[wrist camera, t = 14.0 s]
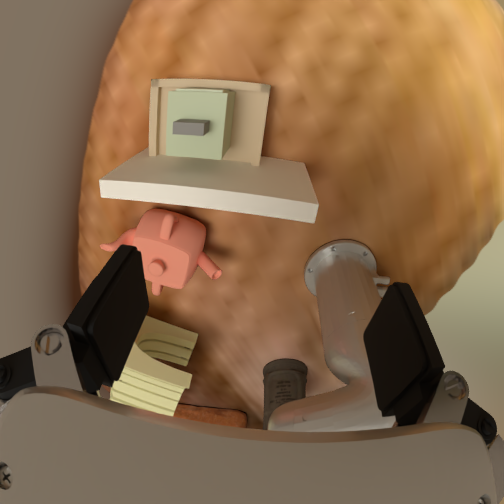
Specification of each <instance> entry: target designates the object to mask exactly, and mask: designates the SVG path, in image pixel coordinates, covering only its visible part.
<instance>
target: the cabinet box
mask: <svg viewBox="0 0 504 504" xmlns="http://www.w3.org/2000/svg"><path fill="white" fill-rule="evenodd" d="M234 101H235V92H232V91H230V89H216V88H190V87H189V88H178V89H176V90H174V91H168V105H167V127H166V156H179V157H192V158H204V159H215V160H222V158H223V157H224V155H225V154H226V152H227V151H228V149H229V148H230V139H231V129H232V120H233V110H234Z"/></svg>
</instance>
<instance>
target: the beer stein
mask: <svg viewBox="0 0 504 504" xmlns="http://www.w3.org/2000/svg"><path fill="white" fill-rule="evenodd" d="M263 375H264V380H263V383H264V424H263V430H268V422H269V418H270V416H271V414H272V413H273V411H274V410H275V409H276V408H278V407H279V406H281V405H283V404H285V403H288V402H291V401H295V400H299V399H303V398H305V386H306V382H307V379H306V375H307V367H306V366H305V364H303V363H302V362H300V361H298V360H293V359H280V360H275V361H272V362H270V363H268V364H267V365H266V366H265V367H264V369H263Z"/></svg>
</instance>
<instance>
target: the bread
mask: <svg viewBox="0 0 504 504" xmlns="http://www.w3.org/2000/svg"><path fill="white" fill-rule="evenodd" d="M173 417H177V418H182V419H187V420H192V421H198V422H204V423H210V424H216V425H223V426H231V427H239V428H246V426H247V416H246V414H245V413H243V412H241V411H239V410H232V409H218V408H209V407H196V406H192V405H187V404H179V403H178V404H177V406H176V409H175V412H174V415H173Z"/></svg>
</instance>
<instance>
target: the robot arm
mask: <svg viewBox="0 0 504 504" xmlns="http://www.w3.org/2000/svg"><path fill="white" fill-rule="evenodd" d="M376 268H377V266H376V260H375V258H374V256H373V254H372V252H371V251H370V250H369V249H368V248H367V247H366V246H365V245H363V244H362V243H359V242H357V241H352V240H338V241H333V242H330V243H327V244H325V245H324V246H322V247H320V248H319V249H317V250H316V251H315V252H314V253H313V254H312V255H311V256H310V258H309V259H308V261H307V263H306V266H305V270H304V278H305V283H306V286H307V288H308V290H309V291H310V292H311V293H312V294H313V295H315V296H316V297H317V303H318V310H319V317H320V324H321V332H322V340H323V348H324V356H325V361H326V364H327V366H328V368H329V369H330V371H331V372H332V373H333V374H334V375H335V376H336V377H337V378H338V379H339V380H341V381H342V382H344V383H345V384H347V386H345V387H342V388H339V389H336V390H334V391H330V392H327V393H323V394H319V395H315V396H311V397H307V398H303V399H299V400H295V401H291V402H288V403H285V404H283V405H281V406H279V407H278V408H276V409H275V410H274V411H273V413H272V414H271V416H270V418H269V422H268V430H259V429H248V428H239V427H231V426H223V425H216V424H210V423H204V422H198V421H192V420H187V419H182V418H177V417H173V416H168V415H164V414H160V413H156V412H152V411H148V410H144V409H140V408H136V407H132V406H129V405H125V404H122V403H118V402H115V401H112V400H108V399H105V398H102V397H101V396H100V393H99V390H100V387H101V385H102V384H103V385H106V386H109V387H112V386H113V384H114V381H118V380H119V379H120V376H121V374H122V371H123V369H124V366H125V364H126V361H127V359H128V356H129V354H130V352H131V349H132V347H133V344H134V342H135V340H136V337H137V335H138V333H139V330H140V328H141V326H142V323H143V321H144V319H145V317H146V314H147V312H148V309H149V301H148V295H147V289H146V283H145V276H144V269H143V262H142V254H141V251H138V250H137V247H136V246H131V245H124V244H122V245H120V246H119V247H118V249H117V250H116V251H115V253H114V254H113V255H112V257H111V258H110V259H109V261H108V262H107V263H106V265H105V266H104V267H103V269H102V270H101V272H100V273H99V274H98V276H96V278H95V279H94V280H93V281H92V283H91V284H90V286H89V287H88V288H87V290H86V291H85V293H84V294H83V296H82V297H81V299H80V300H79V302H78V303H77V305H76V306H75V308H74V310H73V311H72V313H71V314H70V316H69V317H68V319H67V320H66V322H65V324H64V325H63V327H62V326H59V325H56V324H50V325H46V326H44V327H41V328H40V329H39V330H38V331H37V332H36V333H35V334H34V336H33V338H32V341H31V347H29V348H26V349H23V350H21V351H18V352H16V353H14V354H11V355H8V356H6V357H3V358H1V359H0V504H499V503H500V501H501V500H502V498H503V497H504V441H503V440H502V438H501V437H500V435H497V436H496V433H497V426H496V422H495V420H494V418H493V417H492V416H491V415H490V414H489V413H487V412H486V411H485V410H483V409H482V408H481V407H479V406H478V405H477V404H476V403H474V402H473V401H472V400H470V399H469V398H468V396H469V387H468V384H467V382H466V380H465V379H464V377H463V376H462V375H460V374H459V373H457V372H455V371H447V372H445V373H444V372H443V369H444V368H445V365H444V362H443V360H442V357H441V354H440V352H439V349H438V347H437V345H436V342H435V339H434V337H433V335H432V333H431V330H430V328H429V325H428V323H427V321H426V319H425V316H424V314H423V312H422V310H421V308H420V306H419V304H418V301H417V299H416V297H415V295H414V293H413V291H412V289H411V287H410V285H409V284H407V283H400V282H394V283H393V284H392V285H390V286H389V287H384V286H376V284H377V283H381V284H386V285H388V284H389V283H390V277H387V276H378V274H377V273H376ZM381 297H383V298H382V300H381Z"/></svg>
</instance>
